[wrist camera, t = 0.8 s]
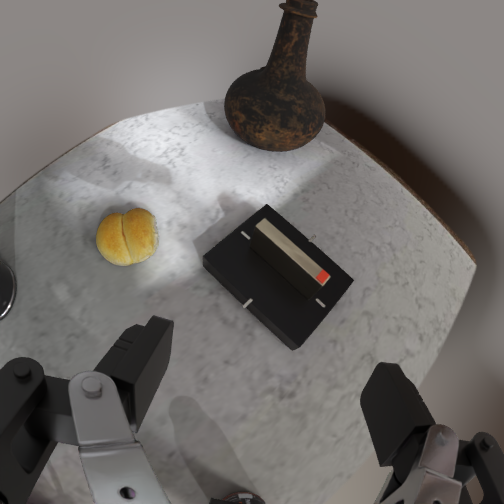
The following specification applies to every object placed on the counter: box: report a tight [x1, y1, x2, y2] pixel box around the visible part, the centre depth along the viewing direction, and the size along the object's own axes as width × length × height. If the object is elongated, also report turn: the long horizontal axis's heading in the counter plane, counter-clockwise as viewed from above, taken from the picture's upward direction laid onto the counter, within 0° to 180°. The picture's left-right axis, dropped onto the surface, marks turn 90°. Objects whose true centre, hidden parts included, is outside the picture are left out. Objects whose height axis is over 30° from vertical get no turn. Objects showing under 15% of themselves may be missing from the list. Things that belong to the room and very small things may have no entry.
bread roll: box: [96, 208, 159, 266], centre depth 37 cm, size 8×9×4 cm
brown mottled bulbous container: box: [224, 0, 325, 152], centre depth 40 cm, size 18×18×28 cm
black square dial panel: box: [203, 204, 354, 351], centre depth 38 cm, size 16×14×3 cm
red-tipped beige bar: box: [250, 218, 331, 300], centre depth 34 cm, size 10×2×5 cm, turn 47°
